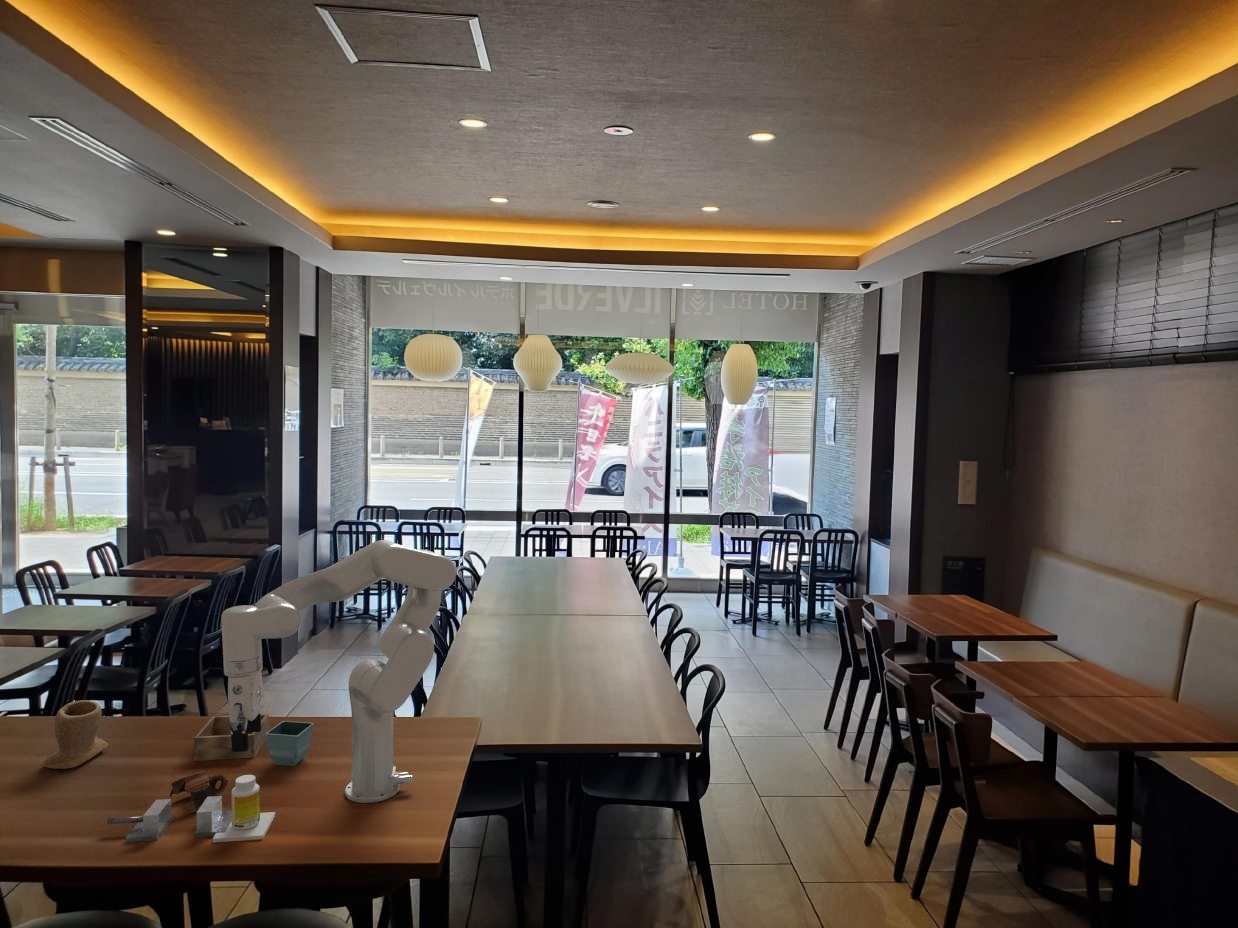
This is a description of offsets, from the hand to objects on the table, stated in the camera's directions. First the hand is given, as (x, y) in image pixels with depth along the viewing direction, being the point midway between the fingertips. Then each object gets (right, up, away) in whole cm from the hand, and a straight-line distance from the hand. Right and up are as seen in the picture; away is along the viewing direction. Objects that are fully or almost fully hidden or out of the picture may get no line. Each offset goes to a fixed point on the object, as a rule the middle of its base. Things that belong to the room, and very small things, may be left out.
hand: (247, 741), depth 174 cm
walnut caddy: (-23, -16, +42) cm, 50 cm away
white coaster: (-1, -19, +1) cm, 19 cm away
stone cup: (-58, -16, +33) cm, 69 cm away
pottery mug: (-17, -19, +12) cm, 28 cm away
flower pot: (-4, -17, +34) cm, 38 cm away
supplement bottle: (-1, -19, +1) cm, 19 cm away
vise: (-17, -19, 0) cm, 25 cm away
